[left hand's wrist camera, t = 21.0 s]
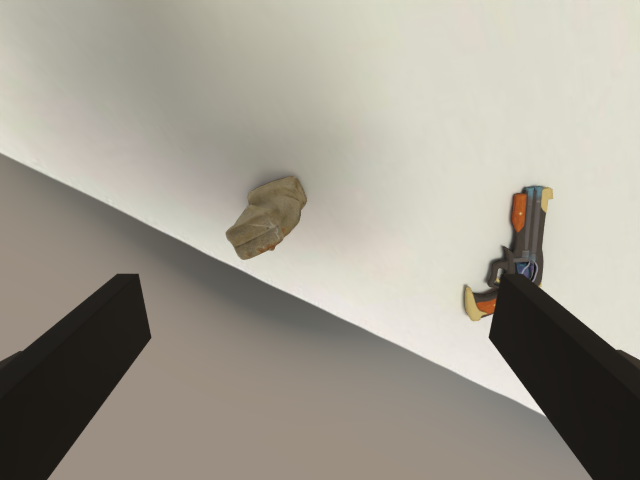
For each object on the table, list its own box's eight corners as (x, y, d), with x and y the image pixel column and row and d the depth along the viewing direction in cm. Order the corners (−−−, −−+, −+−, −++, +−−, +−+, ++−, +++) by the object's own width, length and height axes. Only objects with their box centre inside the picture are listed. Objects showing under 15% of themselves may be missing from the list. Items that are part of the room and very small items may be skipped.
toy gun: (467, 325, 50) (543, 324, 49) (473, 192, 45) (558, 187, 43) (462, 315, 53) (534, 314, 51) (467, 189, 47) (547, 184, 46)
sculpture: (244, 185, 45) (210, 219, 31) (295, 164, 44) (284, 190, 30) (263, 225, 47) (239, 274, 33) (313, 205, 46) (310, 248, 32)
